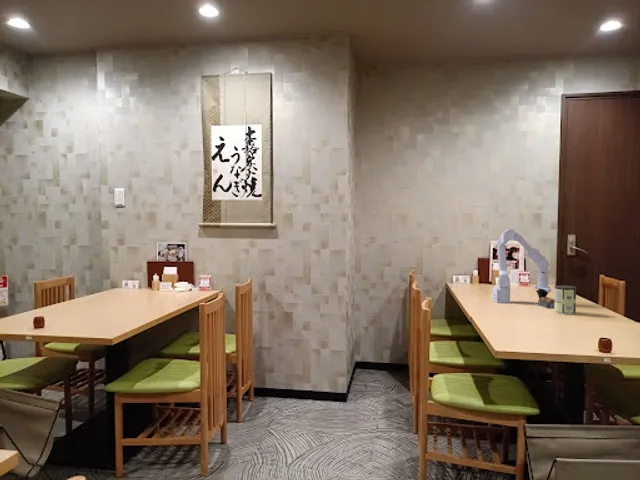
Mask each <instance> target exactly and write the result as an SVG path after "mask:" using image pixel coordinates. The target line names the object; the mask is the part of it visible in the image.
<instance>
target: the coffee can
mask: <svg viewBox="0 0 640 480" xmlns="http://www.w3.org/2000/svg"><path fill="white" fill-rule="evenodd" d="M553 287H554V299H555V303H554V308H553V309H554V310H553V311H554V312H553V313H555V314H558V315H564V316H567V315H570V316H571V315H572V316H573V315H575V314H576V305H577V303H576V302H577V287H576V286H575V285H565V284H564V285H563V284H561V285H556V284H555V285H554V286H553Z"/></svg>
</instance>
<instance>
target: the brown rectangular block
mask: <svg viewBox="0 0 640 480" xmlns="http://www.w3.org/2000/svg"><path fill="white" fill-rule="evenodd" d="M541 301H545V302H548V303H553V302H555V298H552V297H548V296H546V297H541Z"/></svg>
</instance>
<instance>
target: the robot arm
mask: <svg viewBox="0 0 640 480" xmlns="http://www.w3.org/2000/svg"><path fill="white" fill-rule="evenodd" d="M510 240H513V241H515V242H518V243H519V244H520V245H521V246H522V247H523V248H524V249H525V250H526V251H527V256H528V257H529V258H530V259H531V260H532V261H533V262H534V263H535V264H536V265H537V274H536V275H537V280H536V282H537V283H536V284H535V285H534V289H536V290H535V291H536V294H537V296H538V300H541V297H548V294H549V293H551V292H552V288H551V287H550V286H549V267H550V264H549V261H548V260H547V258H546V257H545V256H544V255H543V254H542V253H541V252H540V250H539V249H538V248H535V247H532V246H531V245H530V244H529V243H528V242H527V241H526V239H524V238H523V236H522V235H520V234H519V232H517V231H515V229H513V228H507V229H505V230H504V231H503V232H502V233H501V234H500V237H498V239H497V241H496V249H497V260H498V273H499V274H498V275H499V277H498V282H497V283H498V285H497V286H496V287H495V286H494V287H493V289H492V299H491V301H492V302H494V303H497V304H502V303H503V304H504V303H505V304H506V303H507V304H508V303H509V304H510V303H511V304H513V303H514V302H513V301H511V286H510V277H509V276H508V267H507V264H508V263H507V253H506V244H508V243H509V241H510Z"/></svg>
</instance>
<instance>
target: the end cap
mask: <svg viewBox="0 0 640 480" xmlns="http://www.w3.org/2000/svg"><path fill="white" fill-rule="evenodd" d="M554 303H555V302H553V303H548V302H545V301H541V300H539V299H538V300H537V305H538V306H539V307H543V308H545V309H554Z"/></svg>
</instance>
